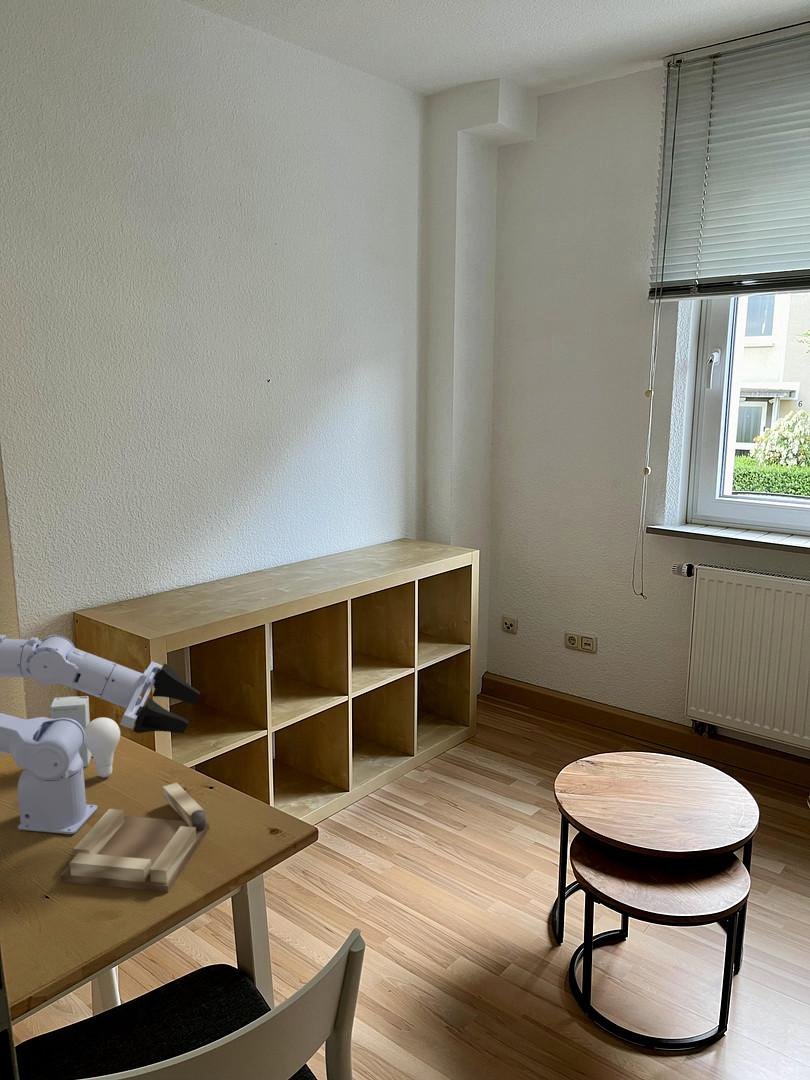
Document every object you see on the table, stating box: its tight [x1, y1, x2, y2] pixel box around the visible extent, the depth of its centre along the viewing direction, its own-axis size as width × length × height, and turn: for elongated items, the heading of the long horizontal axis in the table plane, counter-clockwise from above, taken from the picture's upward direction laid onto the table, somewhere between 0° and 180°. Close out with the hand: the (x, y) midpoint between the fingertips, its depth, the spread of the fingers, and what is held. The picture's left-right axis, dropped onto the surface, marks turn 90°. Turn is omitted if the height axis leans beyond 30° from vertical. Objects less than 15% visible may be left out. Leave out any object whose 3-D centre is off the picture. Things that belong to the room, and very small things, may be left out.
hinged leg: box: [162, 782, 207, 830], centre depth 136 cm, size 12×2×2 cm, turn 37°
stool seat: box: [59, 808, 210, 893], centre depth 127 cm, size 16×16×3 cm
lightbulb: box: [84, 716, 121, 779], centre depth 148 cm, size 6×6×11 cm
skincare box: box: [49, 695, 93, 768], centre depth 153 cm, size 6×4×12 cm
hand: (192, 712), depth 133 cm, fingers open, 7 cm apart
